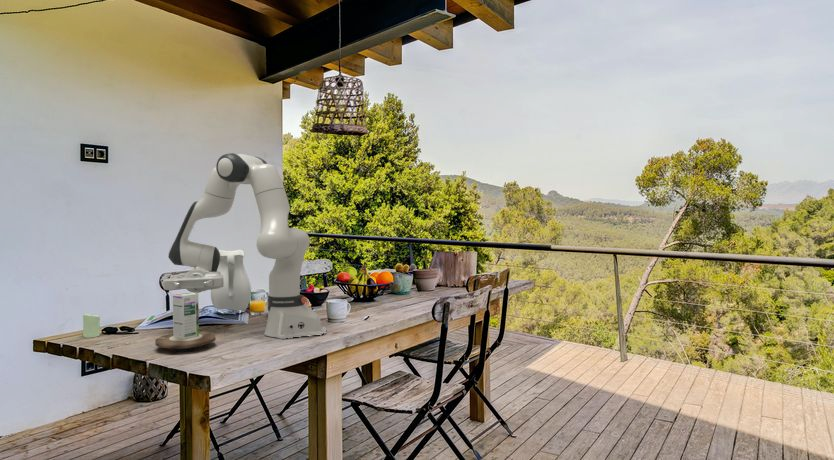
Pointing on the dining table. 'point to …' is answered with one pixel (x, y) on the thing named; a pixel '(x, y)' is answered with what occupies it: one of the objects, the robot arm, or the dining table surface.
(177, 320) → the syrup box
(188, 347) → the turntable base
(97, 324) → the candle
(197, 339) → the brown plate
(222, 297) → the pitcher
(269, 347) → the dining table surface
